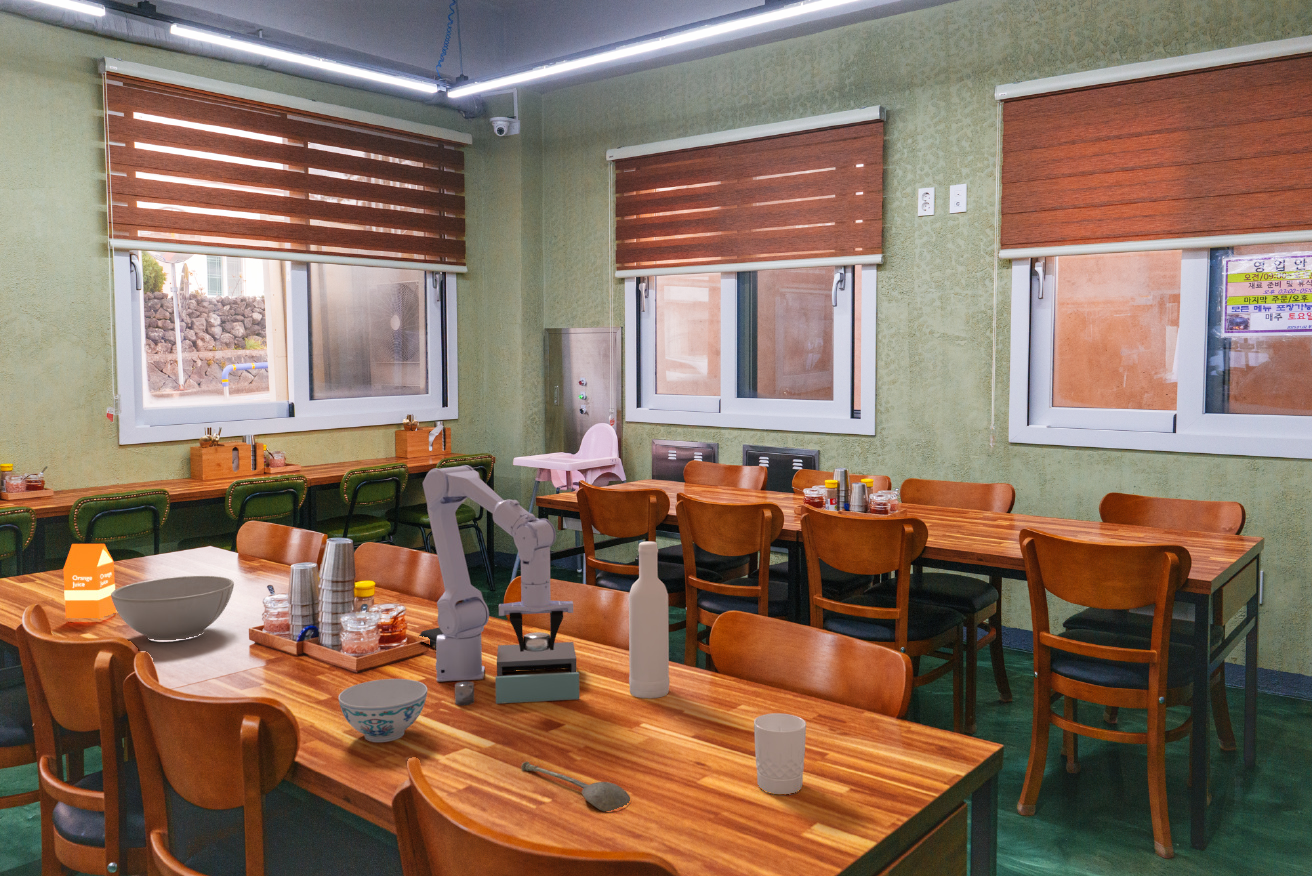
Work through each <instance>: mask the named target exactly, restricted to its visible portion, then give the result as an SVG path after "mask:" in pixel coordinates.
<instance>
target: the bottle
mask: <svg viewBox="0 0 1312 876" xmlns="http://www.w3.org/2000/svg"><path fill="white" fill-rule="evenodd" d="M637 551H638V570H639V571H638V574H639V575H638V579H637V580H636V581H635V582H633V584H632V585H631V588H630V590H629V593H628V636H629V637H628V639H629V640H628V641H629V643H628V645H629V646H628V647H629V649H628V650H629V652H628V653H629V656H628V657H629V661H628V662H629V675H628V676H629V677H628V685H629V694H630V695H632V696H634V697H636V698H639V699H645V698H648V699H651V698H652V699H659V698H662V697H665V696H667V695H668V693H669V691H670V675H669V673H670V671H669V670H670V669H669V668H670V667H669V666H670V662H669V658H670V657H669V656H670V655H669V654H670V652H669V643H670V641H669V593H668V590H667V587H666V585H665V583H663V581H661V579H659V575H658V574H659V573H658V553H659V548H658V543H657V542H656V541H642V542H640V543H639V544H638V550H637Z"/></svg>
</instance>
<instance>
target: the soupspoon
mask: <svg viewBox="0 0 1312 876" xmlns="http://www.w3.org/2000/svg"><path fill="white" fill-rule="evenodd" d="M520 768H521V771H522V772H524V770H525V771H527V772H529V771H531V772H535V773H536V772H540V773H542V774H546V775H548V776H551V777H555V778H556V779H560V780H562V781H566V782H568V783H571V784H573V785H575V786H577V787H578V788H581V789H582V791H581V794H582V796H583V798H584V799H585V800H586V801H587V803H590V804H591V805H592V806H594V807H595V808H596V809H597V810H600V811H601V812H605V811H611V810H614V809H617V808H619V807H623V806H624V805H627V803H629V801H630V798H631V796H630V795H629V793H628V792H627V791H626V790H625V789H624V788H622V787H621V786H620V785H617V784H616V783H613V782H609V781H608V782H607V781H599V782H597V781H596V782H592V783H591V784H590V783H589V784H587V783H585V782H583V781H580V780H578V779H575V778H573V777H570V776H567V775H564V774H561V773H558V772H554V771H552V770H547V769H544V768H542V767H540V766H538V765H534V764H531V763H530V762H529V761H524V762H522V764H521V766H520Z"/></svg>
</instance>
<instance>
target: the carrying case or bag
mask: <svg viewBox="0 0 1312 876" xmlns="http://www.w3.org/2000/svg"><path fill="white" fill-rule="evenodd" d="M443 634H444V633H443V632H442V631H441V630H440V628H439V627H435V628H434V627H433V628H430V629H425V630H422V631H421V633H419V635H418V637H419V636H422V637H423V636H424V637H428V638H429V639H430V645H431V646H430V647H431V648H433V649H434V650H436V641H437V635H443Z"/></svg>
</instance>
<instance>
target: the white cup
mask: <svg viewBox="0 0 1312 876" xmlns="http://www.w3.org/2000/svg"><path fill="white" fill-rule="evenodd" d="M753 728H754V732H753V733H754V751H755V767H756V777H757V778H756V779H757V786H758V785H759V786H758V788H759V787H760V788H762V789H763V790H765V791H767V792H771V793H774V794H789V795H791V794H790V793H794V794H796V793H798V792H799V791H798V790H800V789H802V788H801V787H803V779H804V778H803V777H804V776H803V775H804V767H805V755H806V754H805V753H806V737H807V736H806V733H807V732H806V731H807V722H806V720H805V719H803V718H802V717H800V716H797V715H793V714H789V713H788V714H787V713H777V712H776V713H774V712H773V713H767V714H762V715H759V716H757V717H756V718H754V720H753ZM760 788H759V789H760ZM763 790H762V791H763ZM797 791H798V792H797ZM800 791H801V790H800ZM767 792H766V793H767ZM795 792H796V793H795ZM774 794H773V795H774Z"/></svg>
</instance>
